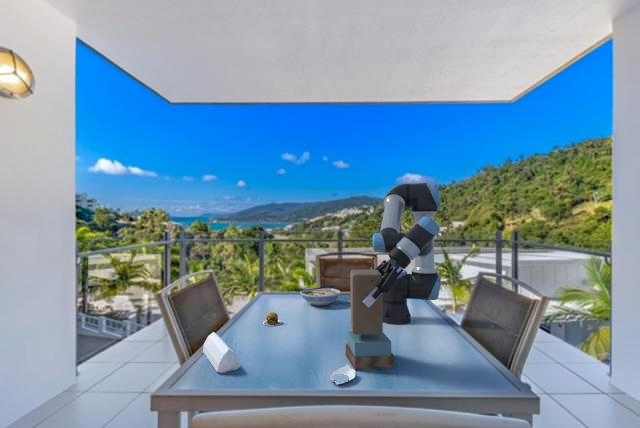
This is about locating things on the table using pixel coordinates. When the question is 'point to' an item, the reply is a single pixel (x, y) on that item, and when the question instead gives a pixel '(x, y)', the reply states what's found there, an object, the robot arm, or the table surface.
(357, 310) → the wooden block
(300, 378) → the table surface
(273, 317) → the hamburger
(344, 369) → the pale veined leaf
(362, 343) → the grey teal block
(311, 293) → the ramen bowl
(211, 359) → the crystal
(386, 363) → the tower base
